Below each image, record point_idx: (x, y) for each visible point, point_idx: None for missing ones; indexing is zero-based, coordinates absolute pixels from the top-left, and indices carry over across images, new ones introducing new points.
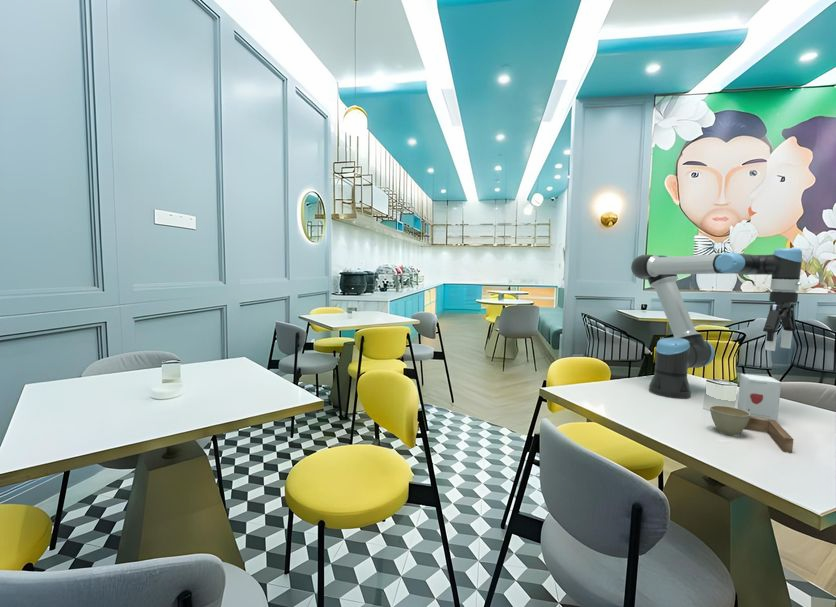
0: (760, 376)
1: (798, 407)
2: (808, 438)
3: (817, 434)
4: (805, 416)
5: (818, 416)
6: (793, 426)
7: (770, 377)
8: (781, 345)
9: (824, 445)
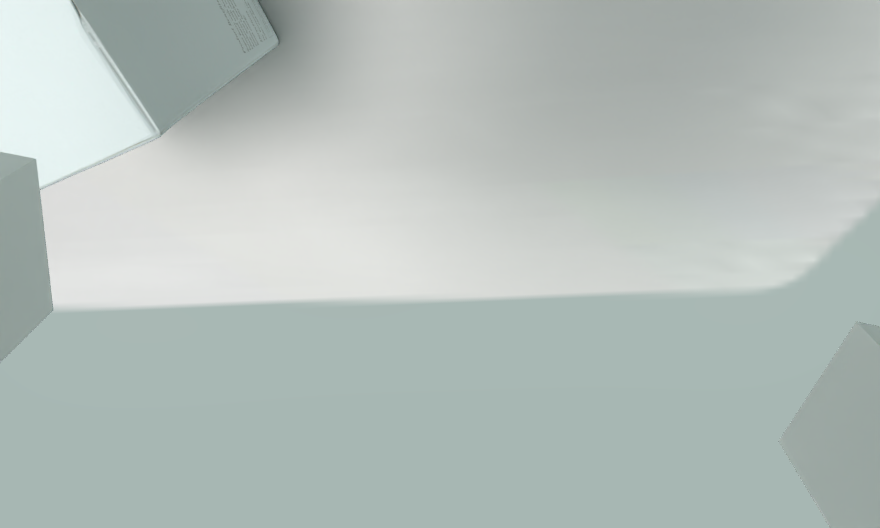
0: (12, 47)
1: (795, 160)
2: (50, 246)
3: (178, 270)
4: (547, 208)
5: (615, 257)
6: (219, 179)
7: (94, 135)
8: (875, 364)
9: None
